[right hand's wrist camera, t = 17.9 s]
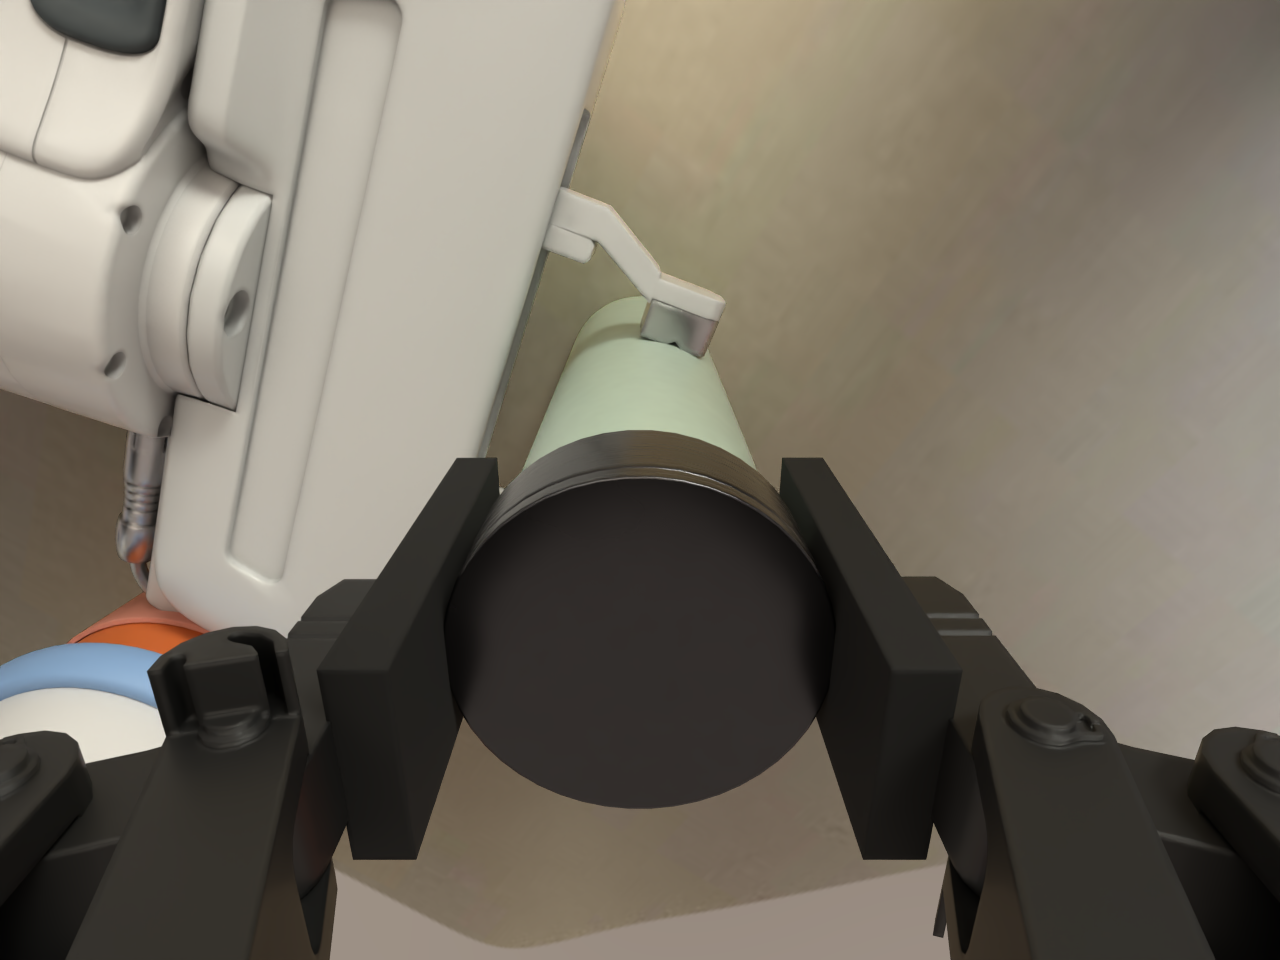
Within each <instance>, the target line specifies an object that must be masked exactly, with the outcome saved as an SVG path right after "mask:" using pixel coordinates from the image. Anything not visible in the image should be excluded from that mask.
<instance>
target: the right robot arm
mask: <svg viewBox="0 0 1280 960" xmlns="http://www.w3.org/2000/svg"><path fill="white" fill-rule="evenodd" d="M499 496H500V491H499V478H498V464H497V458H456V460H455V461H454V463H453V464H452V466H451V467H450V469H449V470H448V472H447V473H446V475H445V476H444V478H443V479H442V481H441V482H440V484H439V485H438V487H437V488H436V490H435V491H434V493H433V494H432V496H431V497H430V499H429V500H428V502H427V503H426V505H425V507H424V508H423V510H422V511H421V513H420V514H419V516H418V517H417V519H416V520H415V522H414V523H413V525H412V526H411V528H410V529H409V531H408V532H407V534H406V535H405V537H404V538H403V540H402V541H401V543H400V544H399V546H398V547H397V549H396V550H395V552H394V553H393V555H392V556H391V558H390V559H389V561H388V562H387V564H386V565H385V567H384V569H383V570H382V572H381V573H380V575H379V576H378V578H377V579H343V580H342V581H340V582H339V583H337V584H336V585H334V586H332V587H331V588H329V589H328V590H326V591H325V592H323V593H322V594H320V595H319V596H317V597H316V598H315V600H314V601H313V602H312V603H311V605H310V606H309V607H308V609H307V610H306V611H305V612H304V614H303V615H302V616H301V621H297V623H296V624H295V625H294V627H293V628H292V629H291V630H290V632H289V633H288V638H285V637H284V636H283V635H281V634H280V633H279V632H278V631H276V630H274V629H269V628H265V627H260V626H239V627H230V628H225V629H221V630H216V631H212V632H207V633H204V634H202V635H199V636H197V637H194V638H192V639H189V640H187V641H184V642H182V643H180V644H178V645H177V646H175V647H174V648H172V649H171V650H169V651H168V652H166V653H164V654H163V655H161V656H160V657H159V658H158V659H157V660H156V661H155V662H154V664H153V665H152V666H151V667H150V668H149V669H148V670H147V674H148V678H149V681H150V684H151V688H152V691H153V694H154V698H155V701H156V705H157V708H158V711H159V715H160V718H161V722H162V725H163V728H164V732H165V735H166V738H165V740H164V742H163V744H162V746H161V747H157V748H154V749H150V750H147V751H142V752H137V753H132V754H128V755H123V756H118V757H114V758H109V759H104V760H99V761H95V762H90V763H85V761H84V758H83V755H82V753H81V750H80V747H79V744H78V742H77V741H76V740H75V739H73V738H72V737H71V736H69V735H68V734H67V733H62V732H55V731H47V730H44V731H36V732H29V733H21V734H16V735H12V736H8V737H4V738H3V739H0V960H330V951H331V942H332V933H333V924H334V915H335V906H336V897H337V883H336V876H335V870H334V865H333V860H332V856H333V853H334V851H335V849H336V847H337V845H338V842H339V840H340V838H341V836H342V834H343V831H344V829H345V827H346V826H347V831H348V836H349V841H350V846H351V852H352V857H353V860H416V859H417V856H418V853H419V850H420V847H421V844H422V841H423V838H424V834H425V831H426V828H427V825H428V822H429V819H430V816H431V813H432V810H433V807H434V804H435V801H436V798H437V795H438V792H439V789H440V786H441V783H442V780H443V777H444V774H445V771H446V768H447V765H448V762H449V758H450V755H451V752H452V749H453V746H454V743H455V740H456V737H457V734H458V731H459V728H460V725H461V722H462V719H463V715H462V713H461V711H460V710H459V707H458V705H457V703H456V701H455V698H454V696H453V694H452V691H451V689H450V682H449V675H448V667H447V658H446V649H445V640H444V626H443V625H444V619H445V614H446V609H447V604H448V601H449V598H450V595H451V592H452V590H453V587H454V584H455V582H456V579H457V577H458V575H459V573H460V571H461V569H462V566H463V564H464V562H465V560H466V558H467V556H468V553H469V551H470V549H471V547H472V545H473V543H474V540H475V538H476V536H477V534H478V532H479V530H480V527H481V525H482V523H483V521H484V519H485V518H486V516H487V514H488V512H489V510H490V508H491V507H492V505H493V503H494V502H495V501H496V499H497V498H498V497H499ZM780 496H781V498H782V499H783V500H784V502H785V503H786V504H787V506H788V508H789V509H790V511H791V513H792V515H793V517H794V519H795V520H796V522H797V524H798V526H799V529H800V531H801V533H802V535H803V537H804V539H805V542H806V544H807V546H808V548H809V550H810V552H811V555H812V557H813V559H814V561H815V563H816V566H817V568H818V570H819V572H820V574H821V576H822V579H823V581H824V583H825V586H826V589H827V591H828V594H829V597H830V600H831V602H832V607H833V612H834V617H835V622H836V632H835V643H834V652H833V661H832V669H831V678H830V685H829V690H828V692H827V695H826V697H825V699H824V702H823V704H822V706H821V708H820V711H819V712H818V714H817V715H816V718H817V721H818V724H819V727H820V730H821V733H822V736H823V739H824V742H825V745H826V748H827V751H828V754H829V757H830V761H831V764H832V767H833V770H834V773H835V776H836V779H837V782H838V785H839V788H840V791H841V794H842V797H843V800H844V803H845V806H846V809H847V812H848V815H849V818H850V821H851V824H852V827H853V830H854V834H855V837H856V840H857V843H858V846H859V849H860V852H861V855H862V858H863V860H926V858H927V853H928V848H929V843H930V838H931V832H932V827H933V823H934V825H935V827H936V829H937V831H938V834H939V836H940V838H941V840H942V842H943V844H944V847H945V849H946V851H947V853H948V855H949V856H948V860H947V865H946V870H945V875H944V880H943V885H942V889H941V894H940V899H939V904H938V909H937V914H936V918H935V925H934V932H933V935H934V936H938V937H942V938H943V936H944V931H945V926H946V922H947V931H948V940H949V949H950V957H951V960H1280V736H1279V735H1277V734H1275V733H1271V732H1267V731H1262V730H1255V729H1248V728H1240V727H1230V728H1222V729H1214V730H1213V731H1212V732H1210V733H1209V734H1208V735H1206V736H1205V737H1204V738H1202V741H1201V744H1200V747H1199V750H1198V753H1197V755H1196V758H1195V760H1192V759H1187V758H1182V757H1177V756H1172V755H1168V754H1163V753H1158V752H1153V751H1149V750H1144V749H1139V748H1134V747H1131V746H1127V745H1123V744H1120V743H1117V741H1116V739H1115V736H1114V735H1113V733H1112V732H1111V731H1110V729H1109V728H1108V727H1107V725H1106V724H1105V723H1104V721H1103V720H1102V719H1101V718H1099V717H1098V716H1097V715H1095V714H1094V713H1093V712H1091V711H1090V710H1089V709H1087V708H1086V707H1085V706H1083V705H1082V704H1079V703H1077V702H1075V701H1073V700H1071V699H1069V698H1066V697H1064V696H1062V695H1060V694H1058V693H1054V692H1050V691H1046V690H1042V689H1038V688H1036V687H1035V686H1034V684H1033V683H1032V682H1031V680H1030V679H1029V678H1028V677H1027V675H1026V674H1025V673H1024V672H1023V670H1022V669H1021V668H1020V666H1019V665H1018V664H1017V663H1016V661H1015V660H1014V659H1013V657H1012V656H1011V655H1010V654H1009V652H1008V651H1007V650H1006V649H1005V647H1004V646H1003V645H1002V643H1001V642H1000V641H999V640H998V638H997V637H996V636H992V631H991V629H990V628H989V627H988V626H987V624H986V623H985V622H984V620H983V619H982V618H979V614H978V613H977V611H976V610H975V609H974V608H973V606H972V605H971V604H970V603H969V601H968V600H967V599H966V597H965V596H964V595H963V594H962V593H960V592H959V591H957V590H956V589H954V588H953V587H951V586H949V585H948V584H946V583H945V582H943V581H942V580H940V579H939V578H937V577H901V576H900V574H899V573H898V571H897V570H896V568H895V567H894V565H893V564H892V562H891V561H890V559H889V558H888V556H887V554H886V553H885V551H884V550H883V548H882V547H881V545H880V544H879V542H878V541H877V539H876V538H875V536H874V535H873V533H872V532H871V530H870V529H869V527H868V526H867V524H866V523H865V521H864V520H863V518H862V517H861V515H860V514H859V512H858V511H857V509H856V508H855V506H854V505H853V503H852V502H851V500H850V498H849V497H848V495H847V494H846V492H845V491H844V489H843V488H842V486H841V485H840V483H839V482H838V480H837V479H836V477H835V476H834V474H833V473H832V471H831V470H830V468H829V467H828V465H827V464H826V462H825V461H824V459H823V458H782V469H781V482H780Z"/></svg>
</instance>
